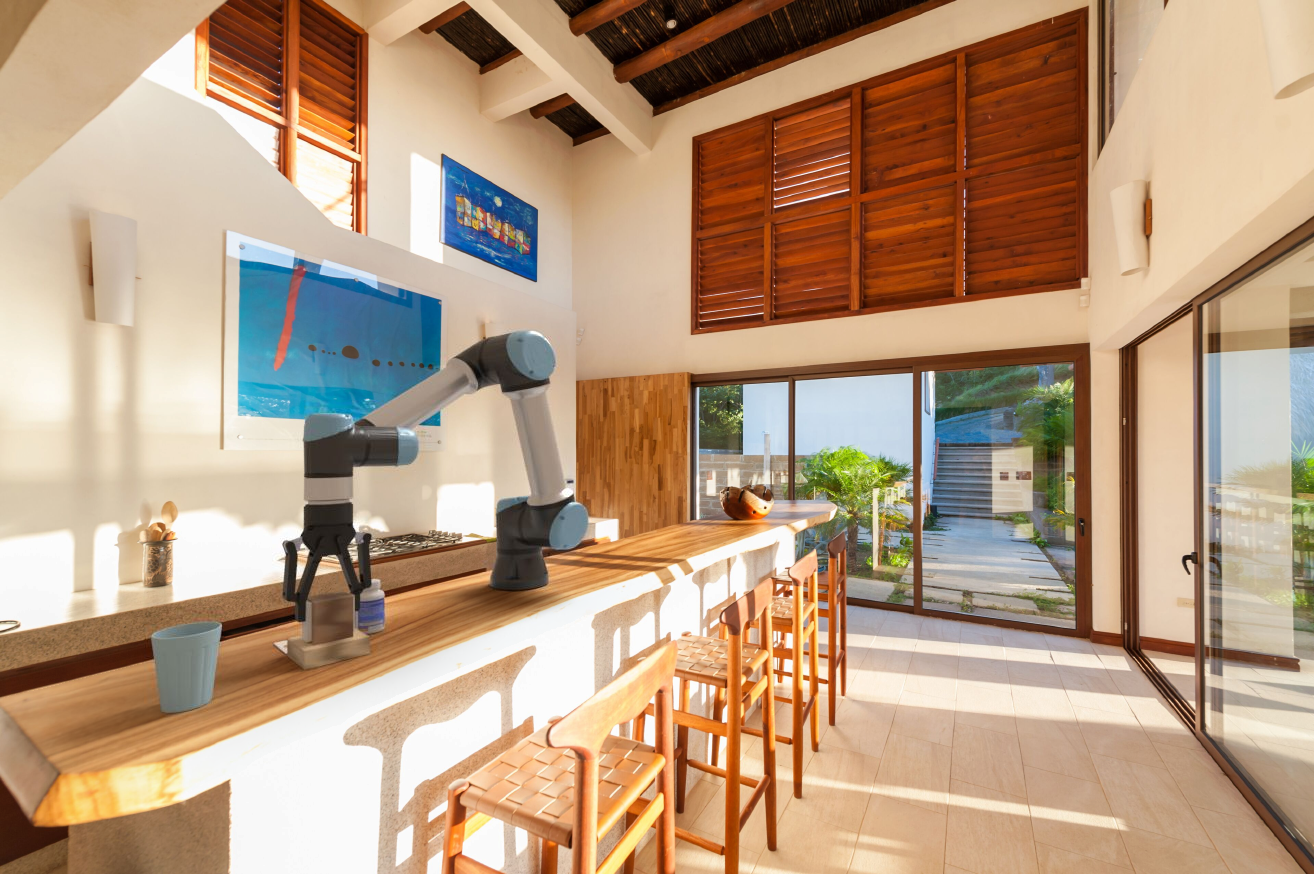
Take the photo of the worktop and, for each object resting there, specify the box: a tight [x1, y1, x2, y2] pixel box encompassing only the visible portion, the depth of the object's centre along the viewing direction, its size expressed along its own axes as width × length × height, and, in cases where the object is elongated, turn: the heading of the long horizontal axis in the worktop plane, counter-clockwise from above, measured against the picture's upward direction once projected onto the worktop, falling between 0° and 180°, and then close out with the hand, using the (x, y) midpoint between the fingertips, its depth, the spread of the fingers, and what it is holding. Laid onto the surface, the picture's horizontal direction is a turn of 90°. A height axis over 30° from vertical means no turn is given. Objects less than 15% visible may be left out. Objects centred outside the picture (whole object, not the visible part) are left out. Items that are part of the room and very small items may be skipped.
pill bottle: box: [355, 578, 386, 635], centre depth 113 cm, size 5×5×10 cm
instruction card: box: [273, 640, 287, 655], centre depth 106 cm, size 10×8×1 cm
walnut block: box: [307, 590, 353, 645], centre depth 100 cm, size 6×6×7 cm
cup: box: [150, 621, 223, 714], centre depth 80 cm, size 8×8×10 cm
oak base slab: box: [286, 628, 371, 671], centre depth 99 cm, size 10×10×3 cm
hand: (328, 634), depth 100 cm, fingers closed on walnut block, 6 cm apart
